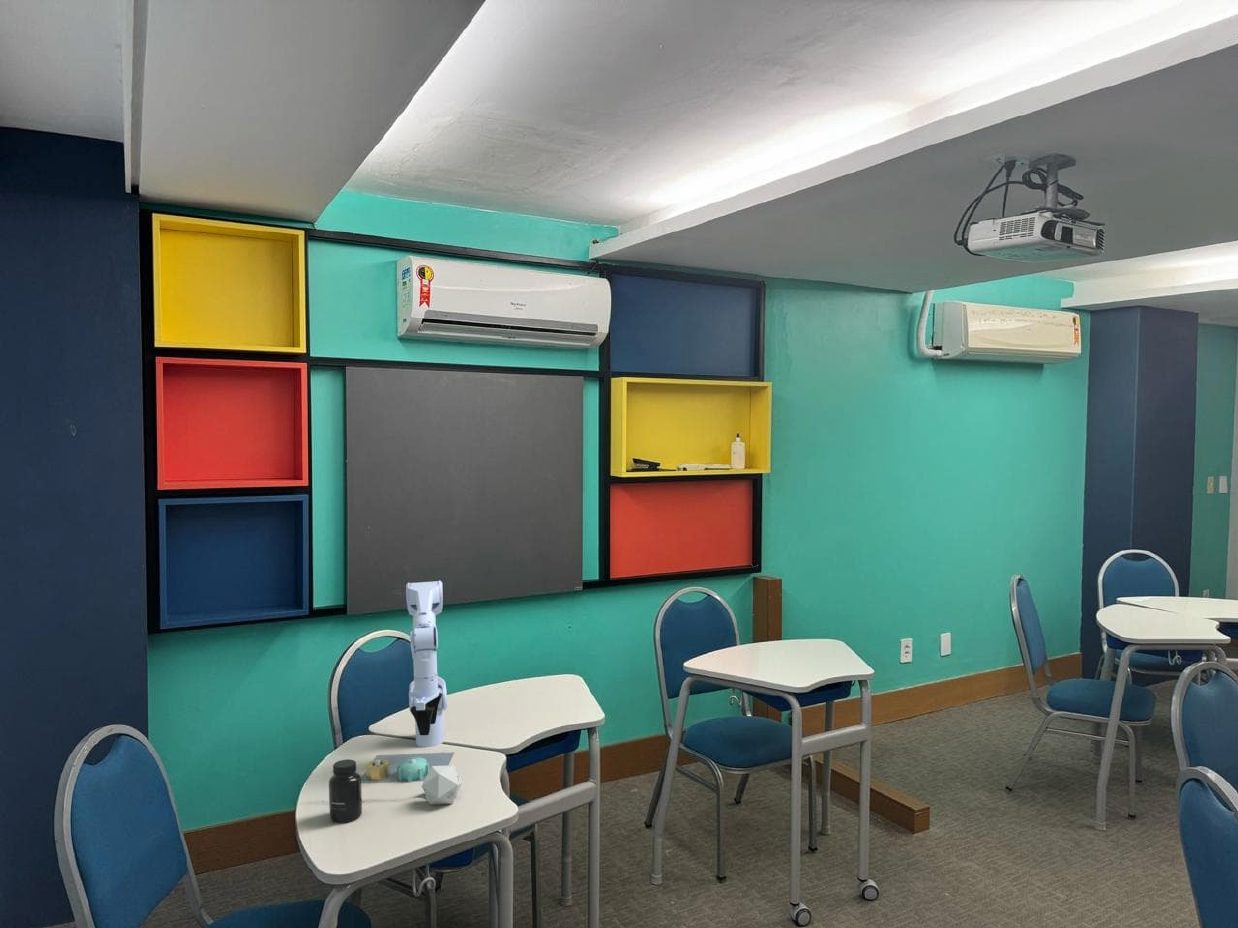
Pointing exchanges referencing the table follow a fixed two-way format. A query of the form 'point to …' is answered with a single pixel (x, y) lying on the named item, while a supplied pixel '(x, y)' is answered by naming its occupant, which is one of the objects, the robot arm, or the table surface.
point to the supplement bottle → (345, 792)
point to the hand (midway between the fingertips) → (427, 729)
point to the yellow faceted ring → (377, 770)
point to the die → (441, 784)
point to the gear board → (398, 759)
